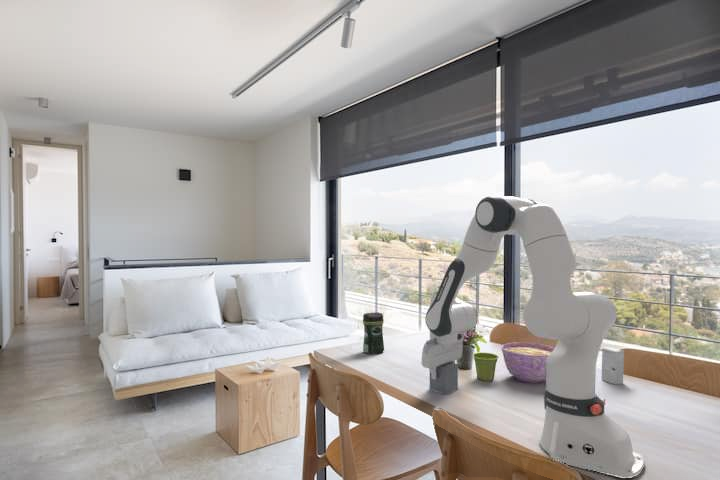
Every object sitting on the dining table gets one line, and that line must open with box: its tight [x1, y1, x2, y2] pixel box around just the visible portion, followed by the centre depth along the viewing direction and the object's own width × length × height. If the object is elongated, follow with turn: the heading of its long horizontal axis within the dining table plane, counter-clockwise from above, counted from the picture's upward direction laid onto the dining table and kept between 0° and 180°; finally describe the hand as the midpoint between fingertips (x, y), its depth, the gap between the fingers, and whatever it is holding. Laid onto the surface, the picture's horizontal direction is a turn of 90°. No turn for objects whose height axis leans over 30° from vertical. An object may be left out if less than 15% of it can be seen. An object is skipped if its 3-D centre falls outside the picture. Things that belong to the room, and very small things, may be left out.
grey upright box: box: [429, 362, 459, 395], centre depth 151 cm, size 7×7×9 cm
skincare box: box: [601, 346, 625, 385], centre depth 159 cm, size 6×4×12 cm
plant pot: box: [472, 352, 499, 382], centre depth 163 cm, size 9×9×9 cm
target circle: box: [429, 388, 456, 394], centre depth 152 cm, size 9×9×1 cm
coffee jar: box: [362, 312, 385, 354], centre depth 202 cm, size 10×8×19 cm
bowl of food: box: [501, 341, 555, 384], centre depth 162 cm, size 20×20×12 cm
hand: (442, 375), depth 152 cm, fingers open, 8 cm apart
